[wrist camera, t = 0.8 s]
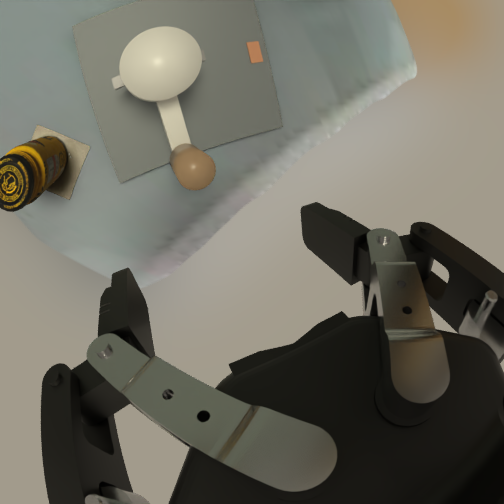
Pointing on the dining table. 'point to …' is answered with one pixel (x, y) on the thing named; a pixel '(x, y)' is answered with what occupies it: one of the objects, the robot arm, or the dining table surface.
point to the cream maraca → (168, 93)
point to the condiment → (40, 168)
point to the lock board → (196, 95)
